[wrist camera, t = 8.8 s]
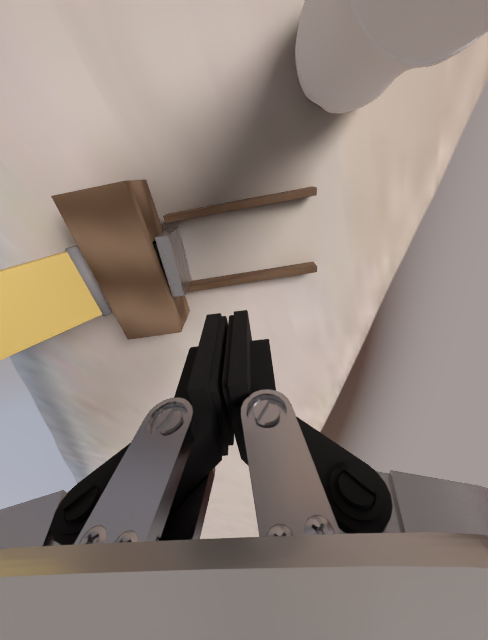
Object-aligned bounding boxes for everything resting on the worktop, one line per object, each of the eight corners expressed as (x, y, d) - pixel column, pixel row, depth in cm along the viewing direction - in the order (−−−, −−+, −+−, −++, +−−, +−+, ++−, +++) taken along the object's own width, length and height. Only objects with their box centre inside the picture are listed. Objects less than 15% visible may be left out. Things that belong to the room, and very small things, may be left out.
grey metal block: (98, 289, 28) (77, 306, 24) (74, 239, 25) (46, 249, 21) (192, 280, 27) (184, 295, 24) (179, 226, 24) (168, 235, 20)
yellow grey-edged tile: (-100, 295, 15) (-106, 298, 14) (75, 245, 20) (78, 246, 19) (-23, 369, 18) (-24, 375, 17) (110, 309, 23) (113, 312, 23)
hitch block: (85, 191, 22) (51, 196, 18) (311, 145, 20) (327, 139, 16) (143, 317, 29) (128, 339, 26) (313, 292, 27) (324, 312, 24)
